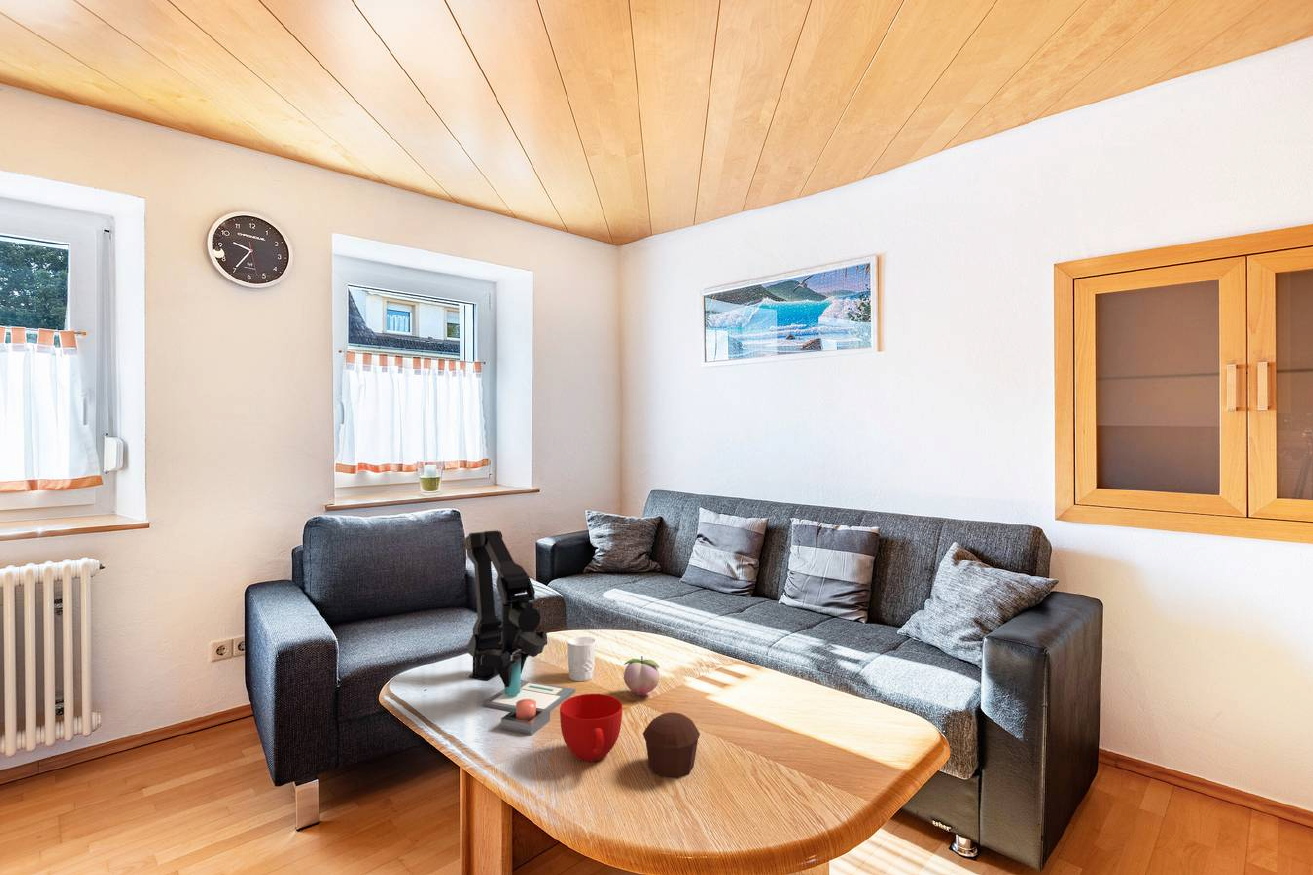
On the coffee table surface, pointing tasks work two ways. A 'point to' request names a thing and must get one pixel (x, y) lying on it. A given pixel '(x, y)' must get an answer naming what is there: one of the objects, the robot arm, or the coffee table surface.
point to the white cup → (581, 658)
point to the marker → (515, 677)
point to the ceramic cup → (591, 725)
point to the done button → (526, 709)
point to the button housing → (525, 722)
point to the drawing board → (531, 696)
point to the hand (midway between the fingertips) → (512, 683)
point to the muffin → (671, 745)
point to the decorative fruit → (641, 675)
